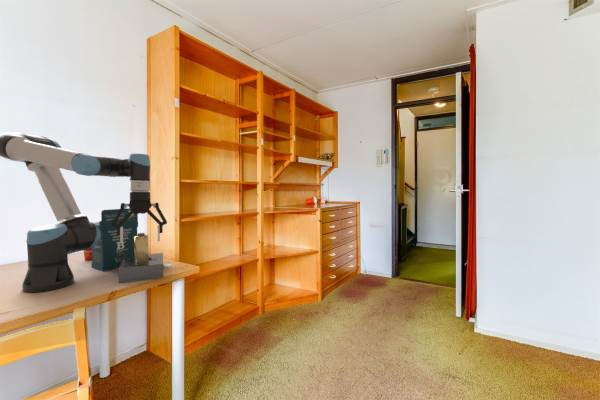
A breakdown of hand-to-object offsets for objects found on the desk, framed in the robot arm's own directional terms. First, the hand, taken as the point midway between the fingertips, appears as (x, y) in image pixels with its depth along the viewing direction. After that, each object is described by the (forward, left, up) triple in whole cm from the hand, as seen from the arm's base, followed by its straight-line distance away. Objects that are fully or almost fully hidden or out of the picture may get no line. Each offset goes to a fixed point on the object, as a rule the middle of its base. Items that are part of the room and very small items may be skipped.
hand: (140, 241), depth 122 cm
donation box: (-14, +29, -16) cm, 35 cm away
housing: (0, +7, -15) cm, 17 cm away
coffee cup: (-26, +46, -16) cm, 55 cm away
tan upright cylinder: (0, 0, -9) cm, 9 cm away
